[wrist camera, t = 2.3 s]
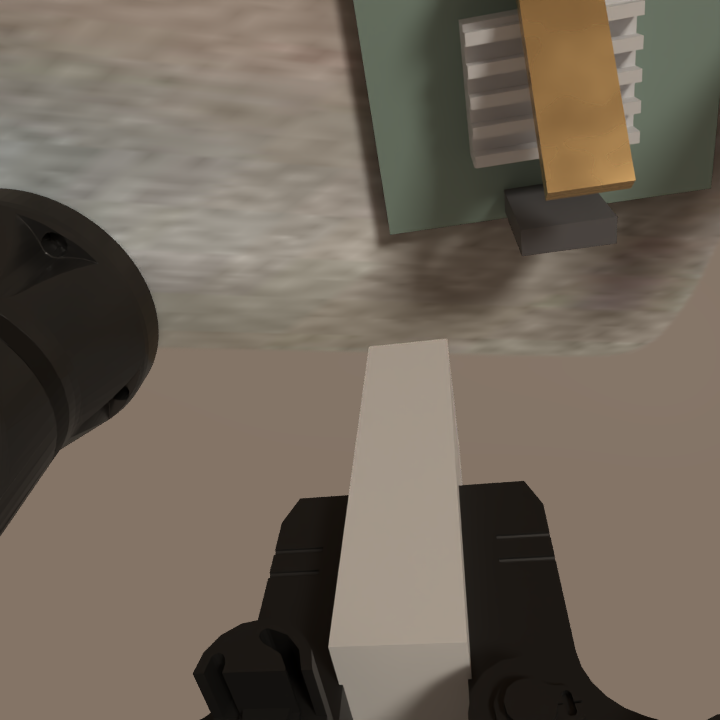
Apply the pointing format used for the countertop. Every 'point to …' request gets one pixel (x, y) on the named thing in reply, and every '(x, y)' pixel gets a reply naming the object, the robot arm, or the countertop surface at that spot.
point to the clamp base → (528, 114)
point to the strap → (575, 97)
